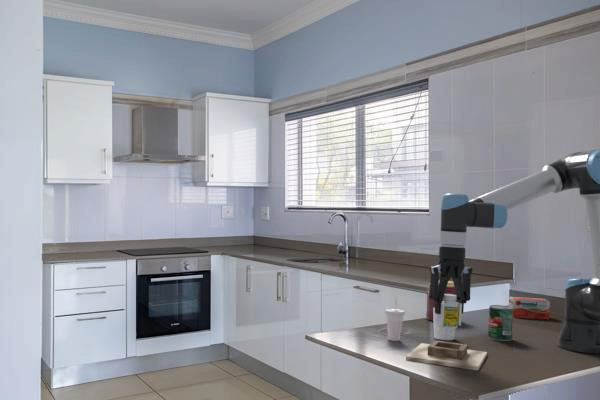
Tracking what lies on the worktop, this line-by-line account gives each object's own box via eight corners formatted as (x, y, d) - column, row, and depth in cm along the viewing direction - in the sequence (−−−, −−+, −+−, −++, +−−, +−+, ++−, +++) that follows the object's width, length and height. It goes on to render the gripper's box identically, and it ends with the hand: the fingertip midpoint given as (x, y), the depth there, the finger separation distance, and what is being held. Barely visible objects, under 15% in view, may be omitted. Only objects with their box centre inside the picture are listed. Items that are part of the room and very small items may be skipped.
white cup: (456, 341, 200) (457, 311, 200) (432, 339, 201) (433, 309, 201) (455, 337, 207) (456, 308, 207) (431, 335, 209) (433, 306, 209)
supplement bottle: (452, 325, 180) (453, 293, 180) (460, 329, 175) (462, 296, 175) (435, 325, 179) (437, 293, 179) (443, 329, 174) (445, 296, 174)
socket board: (486, 355, 182) (487, 343, 182) (478, 370, 164) (478, 357, 164) (421, 346, 190) (421, 335, 190) (405, 359, 172) (406, 347, 172)
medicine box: (543, 316, 260) (544, 298, 260) (550, 320, 252) (550, 301, 252) (508, 314, 261) (508, 296, 261) (513, 317, 253) (513, 299, 253)
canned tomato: (483, 337, 208) (485, 306, 208) (493, 335, 214) (495, 304, 214) (505, 342, 203) (507, 309, 203) (515, 339, 208) (517, 307, 209)
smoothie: (405, 339, 200) (407, 297, 200) (400, 342, 194) (402, 299, 194) (387, 336, 202) (388, 295, 202) (381, 340, 196) (383, 297, 197)
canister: (462, 324, 232) (464, 278, 233) (429, 322, 233) (431, 276, 233) (454, 317, 245) (456, 274, 246) (422, 316, 246) (424, 273, 246)
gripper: (470, 246, 184) (466, 321, 184) (418, 244, 178) (414, 322, 177) (486, 248, 177) (482, 326, 177) (433, 246, 171) (428, 328, 170)
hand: (448, 324), depth 177 cm, fingers closed on supplement bottle, 5 cm apart
